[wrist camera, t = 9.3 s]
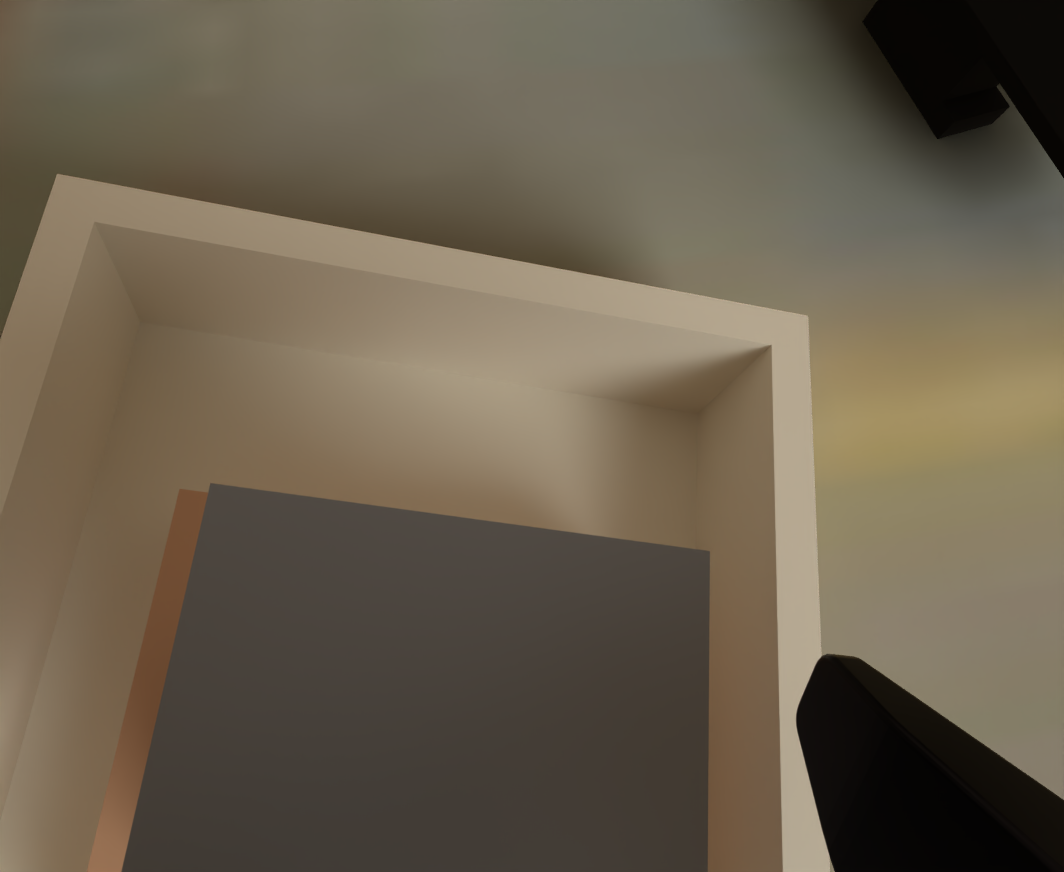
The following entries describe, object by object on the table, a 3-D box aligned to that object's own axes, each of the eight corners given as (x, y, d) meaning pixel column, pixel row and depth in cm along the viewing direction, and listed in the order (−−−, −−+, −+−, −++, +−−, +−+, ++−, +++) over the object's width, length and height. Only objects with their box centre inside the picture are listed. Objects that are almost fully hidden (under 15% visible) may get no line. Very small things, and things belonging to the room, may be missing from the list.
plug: (488, 910, 16) (706, 1142, 6) (232, 895, 15) (60, 1133, 6) (510, 657, 17) (709, 551, 8) (281, 632, 16) (210, 483, 7)
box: (711, 1360, 15) (857, 1600, 11) (-202, 1390, 12) (-474, 1714, 8) (715, 400, 21) (808, 315, 17) (118, 300, 19) (57, 173, 15)
